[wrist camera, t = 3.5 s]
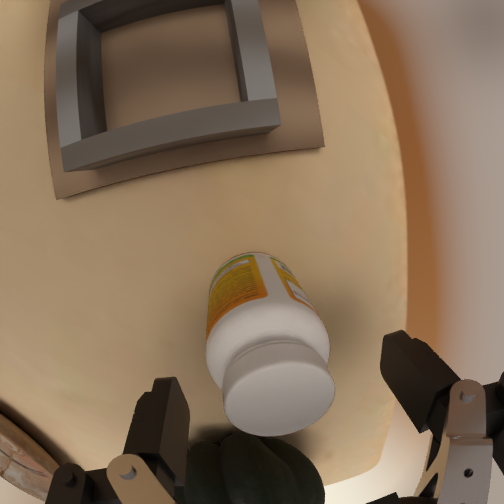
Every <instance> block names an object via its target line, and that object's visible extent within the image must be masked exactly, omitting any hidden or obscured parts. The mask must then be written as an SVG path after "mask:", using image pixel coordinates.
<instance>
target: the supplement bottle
mask: <svg viewBox="0 0 504 504" xmlns="http://www.w3.org/2000/svg"><path fill="white" fill-rule="evenodd" d="M206 332H207V333H206V362H207V367H208V370H209V373H210V375H211V377H212V379H213V380H214V382H215V383H216V384H217V386H218V387H219V388H220V389H221V390H222V391H223V402H224V411H225V414H226V416H227V418H228V419H229V421H230V422H231V423H232V424H233V425H234V426H235V427H237V428H238V429H240V430H242V431H244V432H247V433H250V434H253V435H258V436H280V435H286V434H290V433H294V432H296V431H299V430H302V429H304V428H306V427H308V426H310V425H311V424H313V423H315V422H316V421H317V420H318V419H320V418H321V417H322V416H323V415H324V414H325V413H326V412H327V410H328V409H329V408H330V406H331V404H332V402H333V399H334V396H335V385H334V381H333V379H332V376H331V374H330V372H329V370H328V367H327V363H328V359H329V353H330V344H329V337H328V333H327V331H326V328H325V326H324V324H323V322H322V320H321V319H320V317H319V315H318V314H317V312H316V311H315V309H314V308H313V306H312V305H311V303H310V301H309V300H308V298H307V296H306V295H305V293H304V292H303V290H302V288H301V287H300V285H299V284H298V282H297V280H296V279H295V277H294V276H293V274H292V273H291V271H290V270H289V269H288V267H287V266H286V265H285V264H284V263H282V262H281V261H280V260H278V259H277V258H275V257H273V256H271V255H268V254H263V253H246V254H242V255H239V256H236V257H234V258H232V259H230V260H229V261H227V262H226V263H225V264H223V265H222V266H221V267H220V269H219V270H218V271H217V273H216V274H215V276H214V278H213V280H212V283H211V287H210V293H209V306H208V319H207V331H206Z"/></svg>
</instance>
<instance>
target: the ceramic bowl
mask: <svg viewBox="0 0 504 504" xmlns="http://www.w3.org/2000/svg"><path fill="white" fill-rule="evenodd" d="M59 467H60V466H59V465H58V464H57V463H56V462H55V460H54V459H53V458H52V457H51V456H50V455H49V454H48V453H47V452H46V451H45V450H44V449H43V448H42V447H41V446H40V445H39V444H38V443H36V442H35V441H34V440H33V439H32V438H31V437H30V436H28V435H27V434H26V433H25V432H24V431H22V430H21V429H20V428H19V427H17V426H16V425H15V424H14V423H12V422H11V421H10V420H8V419H7V418H6V417H4V416H3V415H2V414H0V476H1V477H2V478H4V479H5V480H7V481H8V482H9V483H11V484H12V485H14V486H16V487H17V488H19V489H21V490H23V491H24V492H26V493H28V494H30V495H32V496H34V497H36V498H38V499H40V500H43V501H45V502H46V498H47V495H48V491H49V488H50V484H51V481H52V478H53V475H54V472H55V471H56V470H57V469H58V468H59Z"/></svg>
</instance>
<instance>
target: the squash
mask: <svg viewBox="0 0 504 504" xmlns="http://www.w3.org/2000/svg"><path fill="white" fill-rule="evenodd" d="M174 496H175V497H176V498H177V499H178V500H179V501H180V503H181V504H324V502H325V491H324V487H323V483H322V480H321V477H320V475H319V473H318V471H317V469H316V468H315V466H314V465H313V463H312V462H311V461H310V460H309V459H308V458H307V457H306V456H305V455H304V454H303V453H301V452H300V451H299V450H298V449H296V448H295V447H294V446H292V445H290V444H288V443H286V442H284V441H282V440H279V439H261V440H259V439H258V438H257V437H255V436H254V435H252V434H249V433H246V432H236V433H233V434H230V435H229V436H227V437H225V438H224V439H223V441H222V443H221V445H220V447H219V446H218V445H217V444H214V443H211V442H200V443H197V444H195V445H194V446H192V447H191V449H190V450H189V452H188V454H187V459H186V473H185V486H175V489H174Z"/></svg>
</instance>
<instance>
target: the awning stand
mask: <svg viewBox="0 0 504 504" xmlns="http://www.w3.org/2000/svg"><path fill="white" fill-rule="evenodd" d="M44 102H45V121H46V134H47V144H48V153H49V160H50V167H51V174H52V180H53V186H54V191H55V197H56V200H59V199H62V198H66V197H69V196H72V195H75V194H78V193H82V192H85V191H88V190H92V189H95V188H99V187H102V186H106V185H110V184H113V183H117V182H121V181H125V180H129V179H133V178H137V177H141V176H145V175H149V174H154V173H158V172H162V171H167V170H172V169H176V168H181V167H186V166H191V165H196V164H202V163H207V162H213V161H219V160H225V159H231V158H237V157H244V156H250V155H257V154H265V153H273V152H281V151H290V150H299V149H309V148H320V147H325V145H324V138H323V131H322V124H321V118H320V112H319V106H318V100H317V95H316V89H315V84H314V79H313V74H312V69H311V64H310V59H309V54H308V50H307V45H306V41H305V37H304V33H303V28H302V24H301V20H300V17H299V13H298V9H297V5H296V2H295V0H51V3H50V9H49V16H48V24H47V33H46V45H45V64H44Z"/></svg>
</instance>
